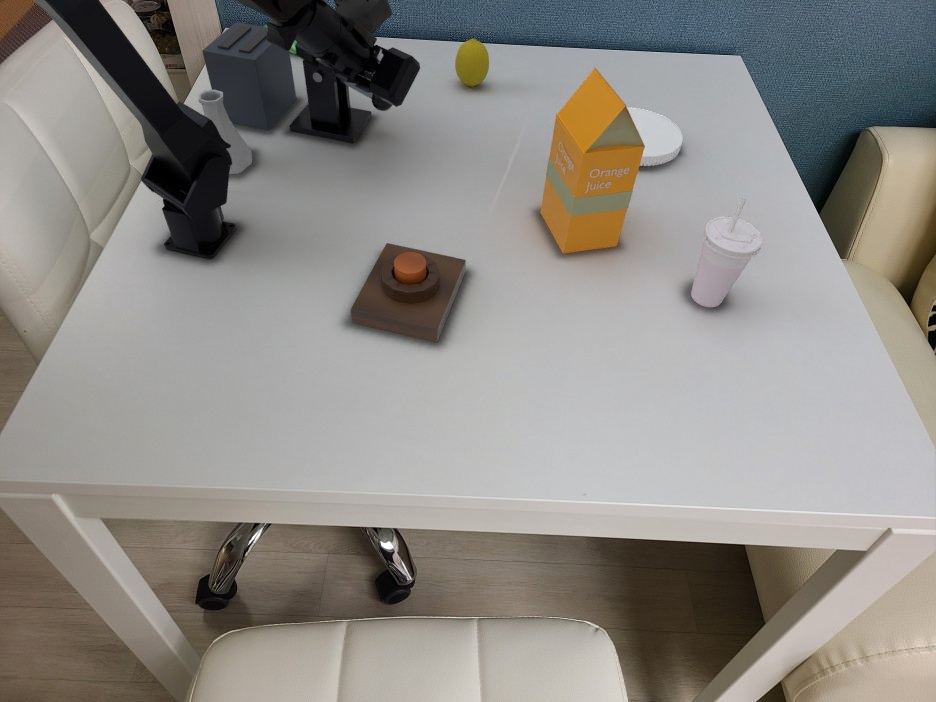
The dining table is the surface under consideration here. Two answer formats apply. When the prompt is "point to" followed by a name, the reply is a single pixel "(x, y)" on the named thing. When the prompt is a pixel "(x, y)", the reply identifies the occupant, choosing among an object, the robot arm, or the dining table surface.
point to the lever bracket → (328, 107)
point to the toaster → (250, 76)
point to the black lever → (376, 101)
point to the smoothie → (724, 256)
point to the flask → (226, 129)
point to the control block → (409, 295)
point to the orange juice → (591, 168)
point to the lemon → (472, 62)
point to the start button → (410, 268)
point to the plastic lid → (656, 136)
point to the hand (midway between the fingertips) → (388, 85)
